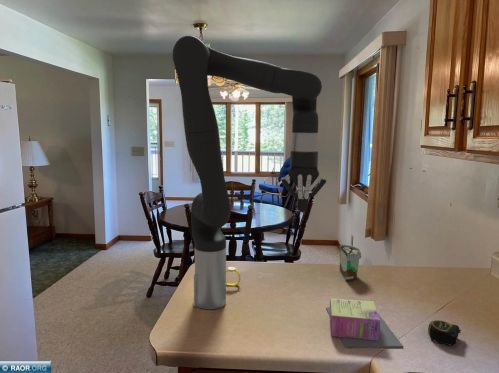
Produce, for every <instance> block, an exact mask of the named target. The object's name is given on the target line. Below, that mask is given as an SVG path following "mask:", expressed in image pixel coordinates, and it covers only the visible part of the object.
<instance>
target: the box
mask: <svg viewBox="0 0 499 373" xmlns="http://www.w3.org/2000/svg"><path fill="white" fill-rule="evenodd" d="M329 307H330V312H329V314H328V316H329V317H328V318H329V328H330V336H331V337H337V338H340V337H347V338H357V339H366V340H375V341H379V336H380V318H379V316H378V314H379V313H378V311H377V307H376V304H375V301H373V300H372V301H370V300H358V299H357V300H355V299H343V298H333V297H330V298H329Z"/></svg>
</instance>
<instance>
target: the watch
mask: <svg viewBox="0 0 499 373" xmlns="http://www.w3.org/2000/svg"><path fill="white" fill-rule="evenodd" d="M227 272H231V273H232V272H233V273H237V276H238V280H237V281H236V282H235V283H228V282H226V286H230V287H236V286H238V285H239V283H240V281H241V272H240V271H239V270H237V268H236V267H234V266H229V267H227V268H226V273H227Z"/></svg>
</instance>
